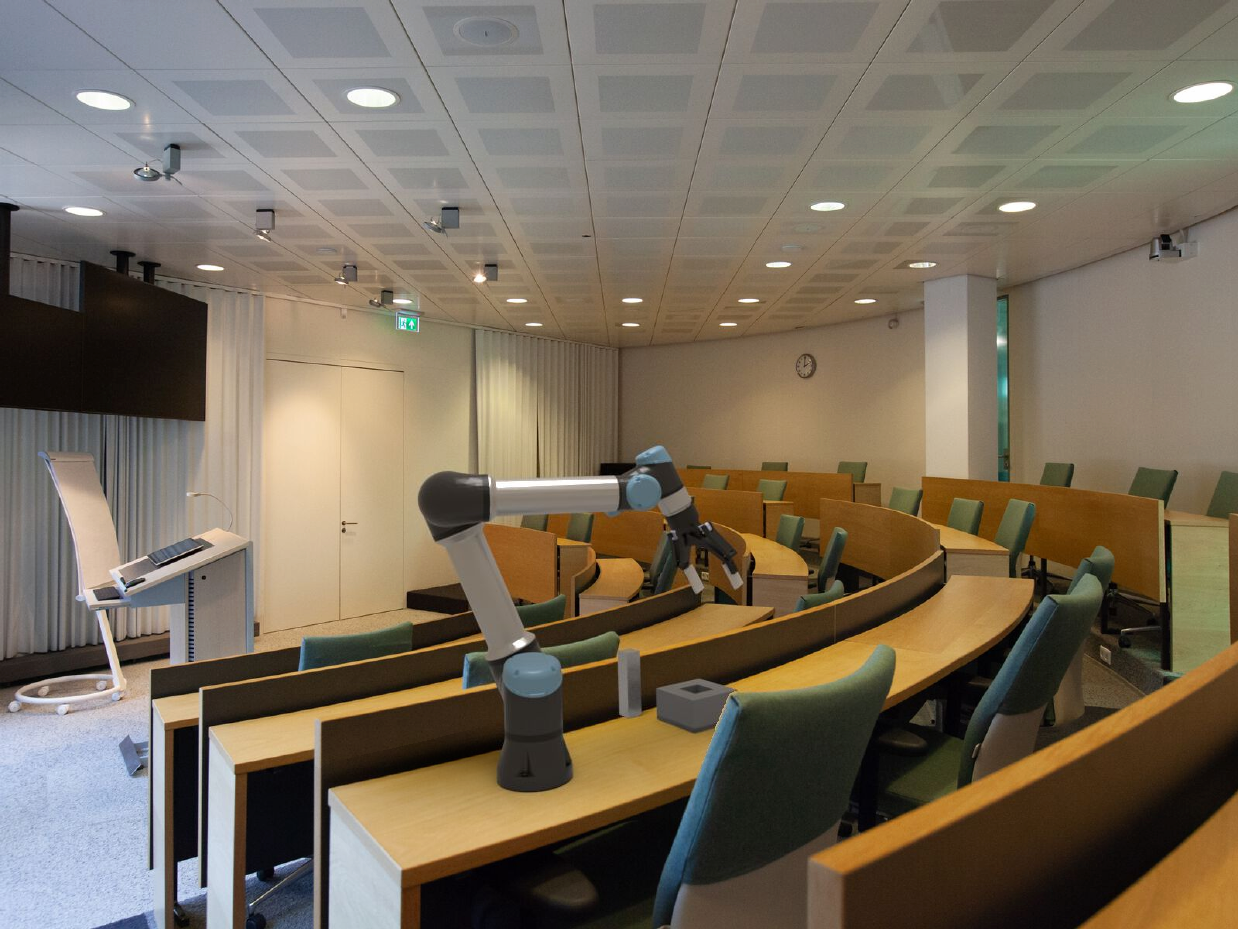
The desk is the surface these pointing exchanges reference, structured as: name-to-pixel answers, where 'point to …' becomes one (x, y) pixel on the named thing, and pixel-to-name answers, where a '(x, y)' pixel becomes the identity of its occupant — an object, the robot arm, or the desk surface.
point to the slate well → (692, 704)
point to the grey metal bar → (629, 683)
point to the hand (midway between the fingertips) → (718, 588)
